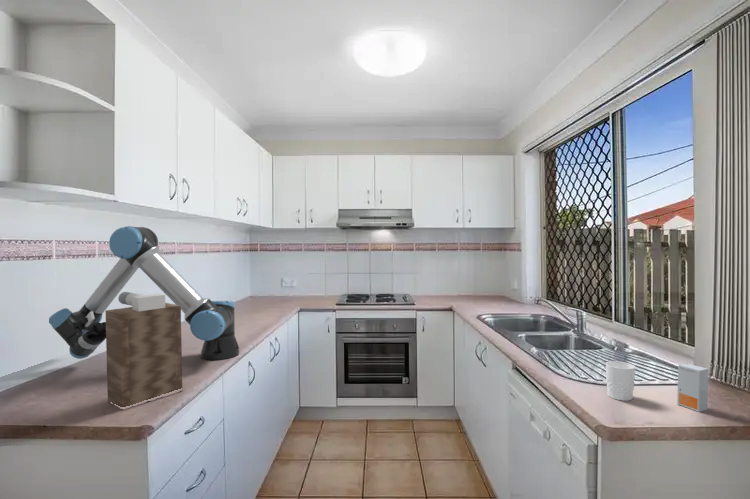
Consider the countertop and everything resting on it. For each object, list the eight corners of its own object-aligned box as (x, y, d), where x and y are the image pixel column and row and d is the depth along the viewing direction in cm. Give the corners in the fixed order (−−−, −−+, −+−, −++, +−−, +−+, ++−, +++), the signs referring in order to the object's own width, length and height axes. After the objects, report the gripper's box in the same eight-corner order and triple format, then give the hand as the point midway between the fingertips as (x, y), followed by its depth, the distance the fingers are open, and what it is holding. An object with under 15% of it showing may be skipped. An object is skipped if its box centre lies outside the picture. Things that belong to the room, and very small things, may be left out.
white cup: (608, 390, 137) (608, 359, 136) (636, 396, 132) (637, 364, 131) (602, 397, 131) (603, 365, 130) (632, 403, 126) (633, 370, 125)
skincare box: (676, 404, 125) (677, 364, 124) (685, 402, 127) (686, 362, 126) (699, 412, 119) (700, 370, 119) (708, 410, 121) (709, 368, 121)
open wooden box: (166, 385, 143) (164, 302, 142) (182, 391, 137) (180, 305, 136) (107, 402, 128) (105, 310, 127) (122, 410, 122) (120, 314, 121)
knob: (111, 305, 136) (111, 293, 136) (137, 302, 142) (137, 290, 142) (138, 311, 125) (138, 298, 125) (165, 307, 132) (165, 294, 132)
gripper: (132, 338, 164) (155, 316, 153) (54, 352, 144) (74, 328, 132) (127, 320, 166) (149, 297, 155) (50, 332, 146) (69, 307, 134)
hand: (115, 311), depth 144 cm, fingers open, 13 cm apart
